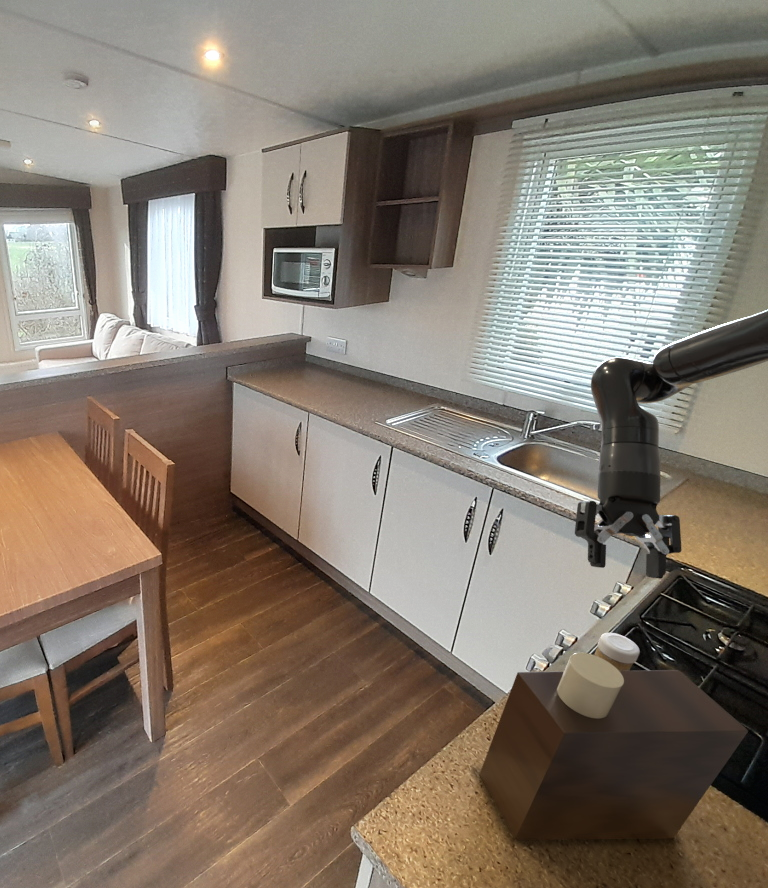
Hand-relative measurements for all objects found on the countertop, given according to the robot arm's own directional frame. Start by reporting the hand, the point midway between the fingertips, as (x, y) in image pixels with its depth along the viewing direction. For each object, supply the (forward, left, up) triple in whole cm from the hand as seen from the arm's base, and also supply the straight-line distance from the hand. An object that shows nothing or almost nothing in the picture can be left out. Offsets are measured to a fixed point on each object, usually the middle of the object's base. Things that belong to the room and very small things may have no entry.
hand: (626, 572), depth 76 cm
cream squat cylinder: (+5, +33, 0) cm, 33 cm away
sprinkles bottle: (-1, +8, -21) cm, 23 cm away
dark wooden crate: (+1, +30, -21) cm, 36 cm away
